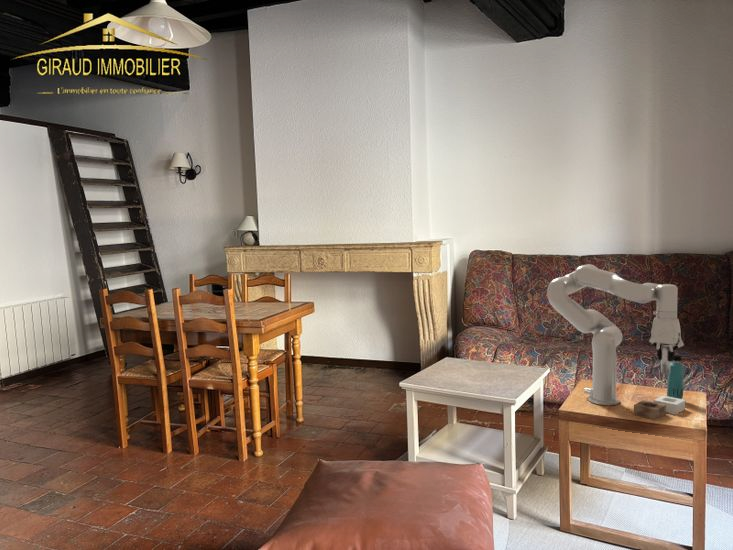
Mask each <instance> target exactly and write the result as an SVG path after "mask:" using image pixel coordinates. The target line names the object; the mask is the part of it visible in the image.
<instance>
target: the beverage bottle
mask: <svg viewBox="0 0 733 550" xmlns="http://www.w3.org/2000/svg"><path fill="white" fill-rule="evenodd" d="M682 360H683V359H682V355H680V354H675V357H674V360H673V361H671V362H670V374H667V381H666V382H667V386H666V396H668V397H673V398H678V399H683V398H684V390H685V389H684V381H685V380H684V377H685V365H684V364H683V363H682V362H681V361H682Z"/></svg>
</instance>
